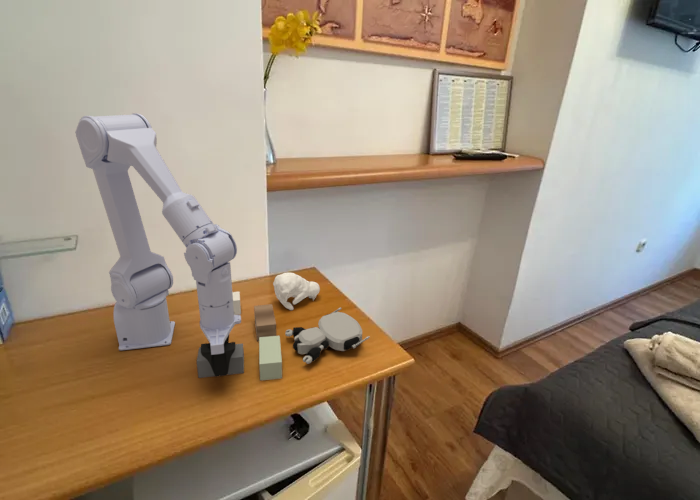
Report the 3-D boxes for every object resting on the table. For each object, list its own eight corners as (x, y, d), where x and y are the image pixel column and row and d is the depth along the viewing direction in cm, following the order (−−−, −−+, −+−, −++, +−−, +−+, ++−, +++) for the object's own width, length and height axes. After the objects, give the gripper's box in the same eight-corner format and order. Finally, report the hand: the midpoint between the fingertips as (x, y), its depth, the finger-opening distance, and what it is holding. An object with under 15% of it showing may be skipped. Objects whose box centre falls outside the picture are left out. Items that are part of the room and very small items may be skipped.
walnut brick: (276, 339, 83) (276, 324, 81) (257, 342, 82) (256, 326, 80) (272, 318, 90) (272, 304, 88) (254, 320, 89) (254, 305, 87)
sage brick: (282, 379, 72) (281, 362, 71) (260, 381, 71) (259, 364, 70) (279, 351, 79) (279, 335, 78) (259, 353, 78) (259, 337, 77)
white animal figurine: (271, 270, 93) (315, 264, 100) (269, 301, 96) (311, 293, 103) (282, 281, 88) (327, 274, 95) (279, 313, 91) (323, 305, 98)
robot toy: (306, 377, 74) (371, 350, 81) (304, 358, 72) (372, 333, 79) (283, 341, 84) (343, 320, 91) (281, 324, 82) (343, 304, 89)
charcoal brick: (198, 378, 71) (196, 361, 69) (201, 364, 75) (199, 347, 73) (243, 373, 73) (242, 356, 71) (244, 359, 76) (243, 343, 75)
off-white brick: (204, 318, 88) (203, 303, 87) (205, 309, 92) (204, 294, 90) (240, 314, 91) (240, 300, 89) (240, 305, 94) (239, 291, 92)
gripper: (240, 319, 62) (245, 384, 68) (238, 277, 75) (242, 335, 80) (194, 324, 60) (202, 391, 66) (199, 280, 73) (206, 339, 78)
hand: (221, 360), depth 73 cm, fingers open, 7 cm apart
